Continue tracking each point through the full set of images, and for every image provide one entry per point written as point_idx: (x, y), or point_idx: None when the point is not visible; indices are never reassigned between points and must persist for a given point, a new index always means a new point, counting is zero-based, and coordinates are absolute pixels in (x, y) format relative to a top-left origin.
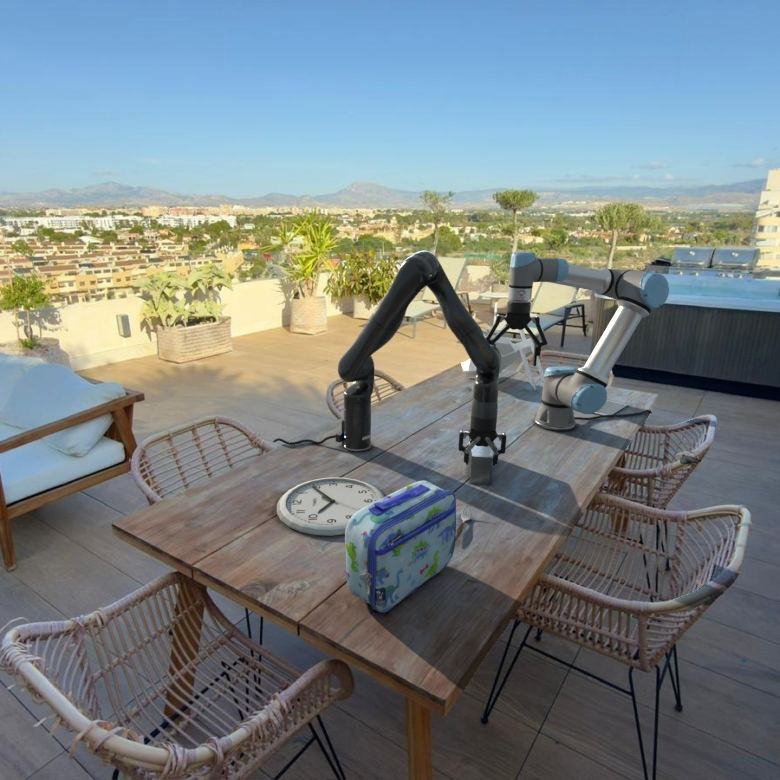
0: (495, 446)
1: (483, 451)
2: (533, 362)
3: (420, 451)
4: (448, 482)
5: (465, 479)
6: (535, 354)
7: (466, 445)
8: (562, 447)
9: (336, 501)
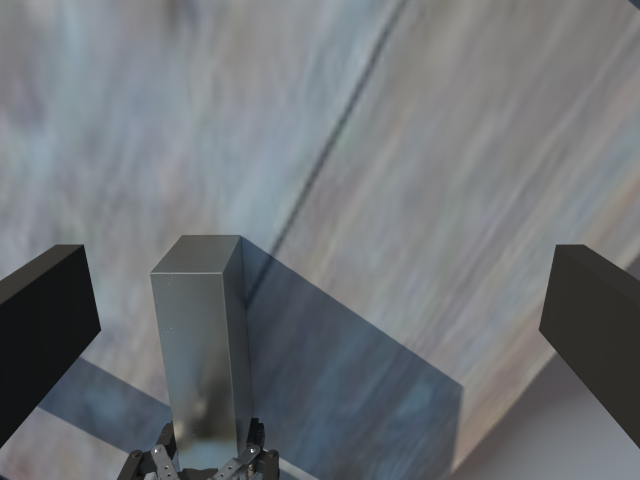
0: (247, 465)
1: (214, 448)
2: (563, 316)
3: (20, 247)
4: (148, 418)
5: None
6: (637, 434)
7: (153, 460)
8: (536, 130)
9: None
